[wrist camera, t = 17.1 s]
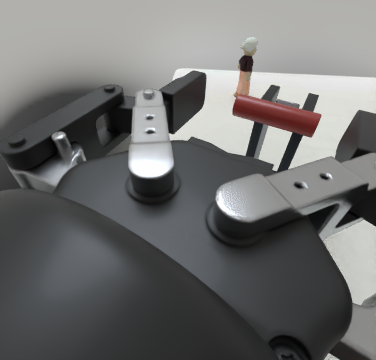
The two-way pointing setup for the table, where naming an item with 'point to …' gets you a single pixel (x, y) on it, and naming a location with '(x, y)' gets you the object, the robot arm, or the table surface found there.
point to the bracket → (261, 129)
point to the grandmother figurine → (246, 66)
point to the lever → (277, 114)
